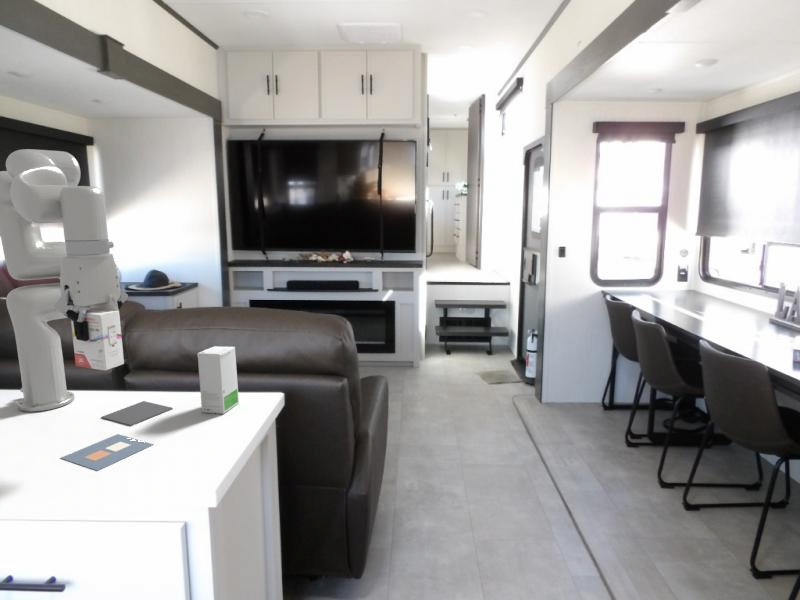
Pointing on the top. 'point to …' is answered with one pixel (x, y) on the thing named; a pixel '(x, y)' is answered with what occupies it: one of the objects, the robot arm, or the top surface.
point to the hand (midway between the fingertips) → (97, 335)
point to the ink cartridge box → (100, 338)
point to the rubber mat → (137, 413)
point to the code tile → (106, 452)
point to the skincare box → (218, 379)
